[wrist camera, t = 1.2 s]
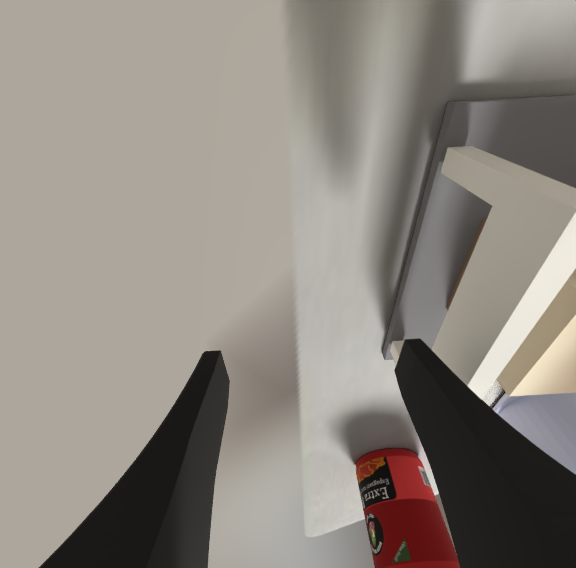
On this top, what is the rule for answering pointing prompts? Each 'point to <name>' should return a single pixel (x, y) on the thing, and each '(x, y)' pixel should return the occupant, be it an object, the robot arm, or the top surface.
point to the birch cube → (542, 346)
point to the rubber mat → (474, 198)
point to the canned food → (402, 512)
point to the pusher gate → (504, 264)
